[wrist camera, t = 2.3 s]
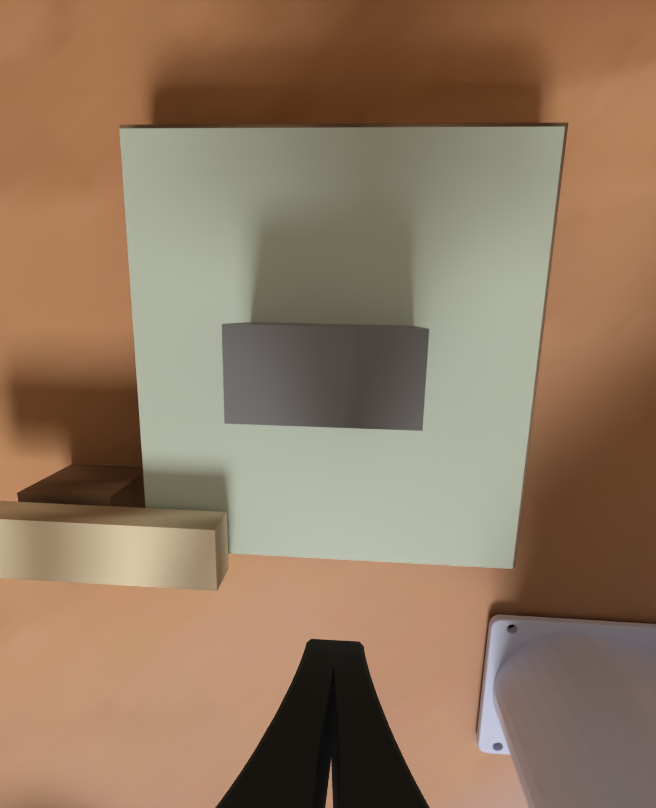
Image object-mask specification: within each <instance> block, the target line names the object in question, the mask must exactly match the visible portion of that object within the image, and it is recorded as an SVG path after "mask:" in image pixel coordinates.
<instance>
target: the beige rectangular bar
mask: <svg viewBox="0 0 656 808" xmlns="http://www.w3.org/2000/svg"><path fill="white" fill-rule="evenodd" d="M227 570H228V536H227V512H216V511H195V510H175V509H155V508H134V507H114V506H94V505H73V504H53V503H33V502H12V501H0V578H10V579H26V580H43V581H59V582H76V583H93V584H109V585H126V586H142V587H159V588H176V589H192V590H209V591H217V590H218V588H219V586H220V584H221V582H222V580H223V578H224V576H225V574H226V572H227Z"/></svg>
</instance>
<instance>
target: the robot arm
mask: <svg viewBox="0 0 656 808" xmlns="http://www.w3.org/2000/svg"><path fill="white" fill-rule="evenodd" d="M511 624H514V626H513V627H512V628H507V626H509V625H511ZM476 739H477V744H478V747H479V749H480V750H481V751H483V752H485V753H494V754H507V755H511V758H512V761H513V764H514V767H515V770H516V773H517V775H518V778H519V781H520V784H521V787H522V790H523V793H524V796H525V798H526V801H527V804H528V807H529V808H656V624H647V623H630V622H614V621H597V620H581V619H565V618H548V617H532V616H516V615H495V616H493V617H492V618H491V619H490V622H489V628H488V637H487V646H486V656H485V665H484V674H483V683H482V692H481V701H480V710H479V719H478V729H477V738H476ZM498 742H499V743H498ZM331 762H332V789H333V808H429V806H428V804H427V802H426V800H425V799H424V797H423V795H422V793H421V791H420V789H419V788H418V786H417V784H416V782H415V780H414V778H413V776H412V774H411V772H410V770H409V768H408V766H407V764H406V762H405V760H404V758H403V756H402V753H401V751H400V749H399V747H398V745H397V743H396V741H395V738H394V736H393V734H392V731H391V729H390V727H389V725H388V722H387V720H386V717H385V714H384V712H383V709H382V707H381V704H380V702H379V699H378V697H377V694H376V691H375V688H374V685H373V682H372V679H371V676H370V673H369V669H368V666H367V662H366V657H365V653H364V646H363V645H362V644H361V643H360V642H355V641H337V640H319V639H311V640H309V641H308V642H307V643H306V647H305V650H304V653H303V656H302V659H301V662H300V664H299V667H298V669H297V672H296V674H295V676H294V678H293V681H292V683H291V685H290V687H289V689H288V691H287V693H286V695H285V697H284V699H283V701H282V703H281V705H280V707H279V709H278V711H277V713H276V715H275V716H274V718H273V720H272V722H271V723H270V725H269V727H268V729H267V730H266V732H265V734H264V736H263V737H262V739H261V741H260V743H259V744H258V746H257V748H256V749H255V751H254V752H253V754H252V756H251V757H250V759H249V760H248V762H247V763H246V765H245V767H244V768H243V770H242V771H241V773H240V774H239V775H238V777H237V778H236V780H235V781H234V783H233V784H232V786H231V787H230V789H229V790H228V791H227V793H226V794H225V796H224V797H223V798H222V800H221V801H220V802H219V804H218V805H217V806H216V808H325V805H326V797H327V788H328V780H329V772H330V763H331Z"/></svg>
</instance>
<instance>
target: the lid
mask: <svg viewBox="0 0 656 808" xmlns="http://www.w3.org/2000/svg"><path fill="white" fill-rule="evenodd" d="M119 130H120V144H121V159H122V173H123V188H124V202H125V217H126V231H127V246H128V260H129V274H130V289H131V303H132V318H133V332H134V347H135V361H136V376H137V390H138V405H139V419H140V434H141V448H142V462H143V477H144V491H145V506H146V508H155V509H175V510H195V511H216V512H227V536H228V553H232V554H250V555H268V556H286V557H305V558H323V559H341V560H359V561H378V562H396V563H414V564H432V565H450V566H469V567H487V568H505V569H513V560H514V552H515V544H516V535H517V527H518V518H519V510H520V501H521V493H522V485H523V476H524V468H525V459H526V451H527V442H528V434H529V426H530V417H531V409H532V400H533V392H534V383H535V375H536V367H537V358H538V350H539V341H540V333H541V324H542V316H543V308H544V299H545V291H546V282H547V274H548V265H549V257H550V249H551V240H552V232H553V223H554V215H555V206H556V198H557V190H558V181H559V173H560V164H561V156H562V147H563V139H564V131H565V127H341V128H119Z"/></svg>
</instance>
